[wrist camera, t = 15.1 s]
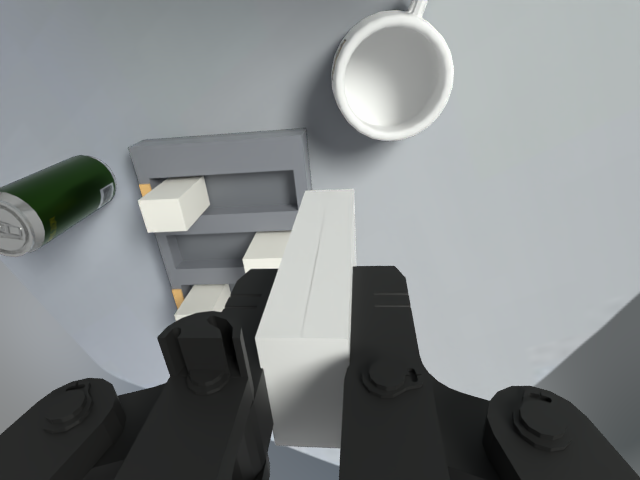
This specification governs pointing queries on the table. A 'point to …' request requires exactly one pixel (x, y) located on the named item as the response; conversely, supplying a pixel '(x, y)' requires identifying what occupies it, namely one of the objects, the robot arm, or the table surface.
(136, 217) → the table surface
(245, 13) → the table surface
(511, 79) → the table surface
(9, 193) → the beer can
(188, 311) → the tab
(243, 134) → the switch board
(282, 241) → the white cuboid
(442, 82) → the mug
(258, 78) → the table surface
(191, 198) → the white rectangular block
